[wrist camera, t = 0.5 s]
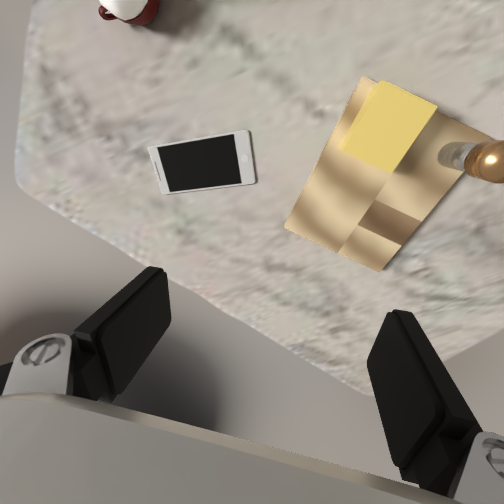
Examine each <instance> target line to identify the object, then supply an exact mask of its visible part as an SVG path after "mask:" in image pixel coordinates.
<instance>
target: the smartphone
mask: <svg viewBox="0 0 504 504" xmlns="http://www.w3.org/2000/svg"><path fill="white" fill-rule="evenodd" d="M148 151H149V154H150V158H151V161H152V164H153V167H154V171H155V174H156V177H157V181H158V184H159V187H160V190H161V193H162V194H173V193H181V192H190V191H198V190H206V189H214V188H223V187H231V186H239V185H247V184H253V183H255V182H256V179H255V172H254V165H253V158H252V150H251V143H250V136H249V131H248V130H240V131H235V132H229V133H224V134H218V135H212V136H207V137H201V138H195V139H190V140H184V141H178V142H173V143H167V144H161V145H156V146H151V147H149V148H148Z"/></svg>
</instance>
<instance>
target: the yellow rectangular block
mask: <svg viewBox="0 0 504 504" xmlns="http://www.w3.org/2000/svg"><path fill="white" fill-rule="evenodd" d="M437 107H438V106H436V105H434V104H432V103H430V102H428V101H426V100H424V99H422V98H420V97H417V96H415V95H413V94H411V93H409V92H407V91H405V90H403V89H401V88H399V87H397V86H395V85H393V84H390V83H388V82H386V81H384V80H382V81H380V82H379V83H377V84H376V85H374V86H373V87H372V89H371V91H370V92H369V94H368V96H367V98H366V100H365V102H364V103H363V105H362V107H361V109H360V111H359V112H358V114H357V116H356V118H355V120H354V122H353V123H352V125H351V127H350V129H349V131H348V132H347V134H346V136H345V138H344V140H343V142H342V143H341V145H340V147H339V150H341V151H344V152H346V153H348V154H350V155H352V156H354V157H356V158H358V159H360V160H362V161H365V162H367V163H369V164H371V165H373V166H375V167H377V168H379V169H381V170H384V171H386V172H388V173H390V174H392V172H393V171H394V170H395V168H396V167H397V165H398V164H399V162H400V161H401V159H402V158H403V156H404V155H405V154H406V152H407V151H408V149H409V148H410V146H411V145H412V143H413V142H414V141H415V139H416V138H417V136H418V135H419V133H420V132H421V130H422V129H423V127H424V126H425V125H426V123H427V122H428V120H429V119H430V117H431V116H432V114H433V113H434V111H435V110H436V109H437Z"/></svg>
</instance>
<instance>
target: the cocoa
mask: <svg viewBox="0 0 504 504" xmlns="http://www.w3.org/2000/svg"><path fill="white" fill-rule="evenodd" d="M99 1H100V3H101V4H102V5H101V6H100V8H99V10H98V11H99V14H100V16H101V17H102V18H103V19H105V20H114V19H119V20H121V21H123V22H125V23H129V24H135V25H146V24H147V23H149V22H151V21H152V20H153V19H154V17H155V15H156V13H157V12H158V7H159V0H99ZM107 11H109V12H111V13H110V14H105V12H107Z"/></svg>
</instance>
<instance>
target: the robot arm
mask: <svg viewBox="0 0 504 504" xmlns="http://www.w3.org/2000/svg"><path fill="white" fill-rule="evenodd" d="M170 322H171V309H170V300H169V290H168V280H167V273H166V272H164V270H163V269H162V268H158V267H152V266H149V267H147V268H146V269H145V270H144V271H142V272H141V273H140V274H139V275H138V276H137V277H135V279H133V280H132V281H131V282H130V283H128V284H127V285H126V286H125V287H124V288H123V289H121V291H119V292H118V293H117V294H116V295H114V296H113V297H112V298H111V299H110V300H109V301H108V302H106V303H105V304H104V305H103V306H102V307H101V308H99V309H98V310H97V311H96V312H95V313H94V314H93V315H91V316H90V317H89V318H88V319H87V320H85V321H84V322H83V323H82V324H81V325H80V326H79V327H77V328H76V329H75V330H74V332H75V333H74V334H73V335H72V336H71V337H69V336H68V335H65V334H52V335H47V336H44V337H41V338H38V339H36V340H34V341H32V342H30V343H29V344H28V345H26V346H25V347H23V348H22V349H21V350H20V352H18V354H17V355H16V357H15V359H14V362H11V363H8V364H5V365H2V366H0V504H504V437H503V436H501V435H498V434H496V433H492V432H483V430H482V429H481V427H480V425H479V424H478V422H477V420H476V418H475V417H474V415H473V413H472V412H471V410H470V408H469V407H468V405H467V403H466V402H465V400H464V398H463V396H462V395H461V393H460V391H459V390H458V388H457V387H456V385H455V383H454V382H453V380H452V378H451V377H450V375H449V373H448V372H447V370H446V368H445V366H444V365H443V363H442V361H441V360H440V358H439V356H438V355H437V353H436V351H435V350H434V348H433V346H432V345H431V343H430V341H429V340H428V338H427V336H426V335H425V333H424V331H423V330H422V328H421V326H420V325H419V323H418V321H417V320H416V318H415V316H414V315H413V313H412V312H408V311H402V310H397V309H395V310H393V311H392V312H388V313H387V315H386V317H385V319H384V322H383V324H382V326H381V329H380V331H379V333H378V335H377V338H376V340H375V342H374V345H373V347H372V349H371V352H370V354H369V356H368V359H367V368H368V372H369V376H370V380H371V383H372V387H373V391H374V394H375V398H376V402H377V406H378V409H379V413H380V417H381V421H382V424H383V428H384V432H385V435H386V439H387V443H388V447H389V451H390V454H391V458H392V461H393V463H394V465H395V466H397V467H399V470H400V474H401V477H402V480H404V481H408V482H412V483H416V484H419V487H420V488H417V487H414V486H410V485H407V484H404V483H400V482H397V481H393V480H390V479H386V478H383V477H380V476H376V475H373V474H369V473H366V472H362V471H359V470H355V469H351V468H347V467H344V466H340V465H336V464H333V463H329V462H325V461H322V460H318V459H314V458H311V457H307V456H303V455H300V454H296V453H292V452H289V451H285V450H281V449H277V448H274V447H270V446H266V445H263V444H259V443H255V442H251V441H247V440H243V439H240V438H237V437H233V436H229V435H225V434H221V433H218V432H214V431H210V430H206V429H203V428H199V427H195V426H191V425H187V424H184V423H180V422H176V421H172V420H168V419H164V418H160V417H157V416H153V415H149V414H145V413H141V412H138V411H133V410H130V409H126V408H122V407H118V406H113V405H110V404H105V403H101V402H97V400H98V399H99V400H103V401H107V402H110V403H112V401H113V400H114V399H115V397H116V396H117V394H121V393H122V392H123V391H124V390H125V388H126V387H127V385H128V384H129V383H130V381H131V380H132V378H133V377H134V376H135V374H136V373H137V371H138V370H139V368H140V367H141V366H142V364H143V363H144V361H145V360H146V358H147V357H148V355H149V354H150V353H151V351H152V350H153V348H154V347H155V345H156V344H157V343H158V341H159V340H160V338H161V337H162V335H163V334H164V333H165V331H166V330H167V328H168V327H169V325H170Z"/></svg>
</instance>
